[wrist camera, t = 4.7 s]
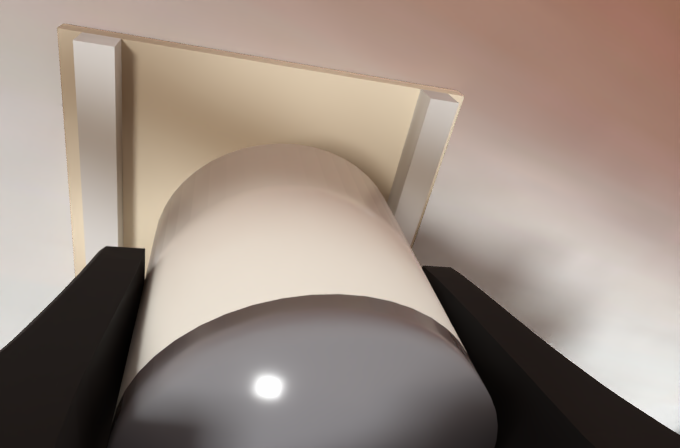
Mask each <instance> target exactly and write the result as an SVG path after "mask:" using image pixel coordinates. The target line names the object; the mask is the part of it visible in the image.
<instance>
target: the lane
mask: <svg viewBox="0 0 680 448" xmlns="http://www.w3.org/2000/svg"><path fill="white" fill-rule="evenodd" d="M57 33H58V47H59V60H60V74H61V88H62V102H63V115H64V129H65V143H66V156H67V170H68V184H69V198H70V211H71V225H72V239H73V253H74V266H75V277H76V276H77V275H78V274H79V273H80V272H81V271H82V270H83V268H84V267H85V266H86V265H87V264H88V263H89V262H90V261H91V260H92V258H93V257H94V256H95V255H96V254H97V253H98V251H100V250H101V249H103V248H104V247H105V246H114V247H130V248H145V277H146V272H147V268H148V263H149V259H150V255H151V250H152V246H153V241H154V237H155V233H156V229H157V225H158V221H159V218H160V216H161V214H162V212H163V209H164V207H165V205H166V204H167V202H168V201H169V199H170V198H171V196H172V195H173V193H174V192H175V191H176V190H177V189H178V188H179V186H180V185H181V184H182V183H183V182H184V181H185V180H186V179H187V178H188V177H190V176H191V175H192V174H193V173H194V172H196V171H197V170H198V169H200V168H201V167H203V166H205V165H206V164H208V163H209V162H211V161H213V160H215V159H217V158H219V157H221V156H223V155H225V154H228V153H231V152H234V151H237V150H240V149H243V148H248V147H253V146H258V145H265V144H279V143H280V144H298V145H304V146H310V147H315V148H318V149H321V150H324V151H328V152H330V153H333V154H335V155H337V156H339V157H341V158H344V159H345V160H347V161H348V162H350V163H352V164H353V165H355V166H356V167H358V168H359V169H360V170H361V171H362V172H364V173H365V174H366V175H367V176H368V177H369V178H370V179H371V180H372V182H373V183H374V184H375V185H376V186H377V187H378V189H379V191H380V192H381V194H382V195H383V197H384V199H385V201H386V202H387V204H388V206H389V208H390V210H391V212H392V214H393V215H394V217H395V219H396V221H397V223H398V225H399V227H400V229H401V230H402V232H403V234H404V236H405V238H406V240H407V242H408V244H409V245H410V247H411V249H412V247H413V244H414V241H415V238H416V235H417V232H418V229H419V226H420V223H421V220H422V218H423V215H424V212H425V209H426V206H427V203H428V200H429V197H430V194H431V191H432V188H433V186H434V183H435V180H436V177H437V174H438V171H439V168H440V165H441V162H442V159H443V156H444V154H445V151H446V148H447V145H448V142H449V139H450V136H451V133H452V130H453V127H454V124H455V121H456V119H457V116H458V113H459V110H460V107H461V104H462V101H463V98H464V96H463V95H462V94H461V93H459V92H458V91H456V90H450V89H444V88H438V87H432V86H426V85H421V84H415V83H409V82H403V81H397V80H391V79H385V78H380V77H374V76H368V75H362V74H356V73H350V72H344V71H339V70H333V69H327V68H321V67H315V66H309V65H303V64H298V63H292V62H286V61H280V60H274V59H268V58H263V57H257V56H251V55H245V54H239V53H233V52H227V51H222V50H216V49H210V48H204V47H198V46H192V45H186V44H181V43H175V42H169V41H163V40H157V39H151V38H145V37H140V36H134V35H128V34H122V33H116V32H110V31H104V30H99V29H93V28H87V27H81V26H75V25H69V24H62V25H61V26H59V27H58V28H57Z"/></svg>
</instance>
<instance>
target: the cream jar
mask: <svg viewBox="0 0 680 448" xmlns="http://www.w3.org/2000/svg"><path fill="white" fill-rule="evenodd" d="M497 430H498V423H497V415H496V410H495V407H494V405H493V402H492V399H491V397H490V395H489V393H488V391H487V389H486V387H485V386H484V384H483V382H482V380H481V378H480V376H479V374H478V372H477V371H476V369H475V367H474V365H473V363H472V361H471V359H470V358H469V356H468V354H467V352H466V350H465V348H464V346H463V344H462V343H461V341H460V339H459V337H458V335H457V333H456V331H455V330H454V328H453V326H452V324H451V322H450V320H449V318H448V316H447V315H446V313H445V311H444V309H443V307H442V305H441V303H440V301H439V300H438V298H437V296H436V294H435V292H434V290H433V288H432V287H431V285H430V283H429V281H428V279H427V277H426V275H425V273H424V272H423V270H422V268H421V266H420V264H419V262H418V260H417V258H416V257H415V255H414V253H413V251H412V249H411V247H410V245H409V244H408V242H407V240H406V238H405V236H404V234H403V232H402V230H401V229H400V227H399V225H398V223H397V221H396V219H395V217H394V215H393V214H392V212H391V210H390V208H389V206H388V204H387V202H386V201H385V199H384V197H383V195H382V194H381V192H380V191H379V189H378V187H377V186H376V185H375V184H374V183H373V182H372V180H371V179H370V178H369V177H368V176H367V175H366V174H365V173H364V172H362V171H361V170H360V169H359V168H358V167H356V166H355V165H353V164H352V163H350V162H348V161H347V160H345V159H344V158H341V157H339V156H337V155H335V154H333V153H330V152H328V151H324V150H321V149H318V148H315V147H310V146H304V145H298V144H280V143H279V144H265V145H258V146H253V147H248V148H243V149H240V150H237V151H234V152H231V153H228V154H225V155H223V156H221V157H219V158H217V159H215V160H213V161H211V162H209V163H208V164H206V165H205V166H203V167H201V168H200V169H198V170H197V171H196V172H194V173H193V174H192V175H191V176H190V177H188V178H187V179H186V180H185V181H184V182H183V183H182V184H181V185H180V186H179V188H178V189H177V190H176V191H175V192H174V193H173V195H172V196H171V198H170V199H169V201H168V202H167V204H166V205H165V207H164V209H163V212H162V214H161V216H160V218H159V221H158V225H157V229H156V233H155V237H154V241H153V246H152V250H151V255H150V259H149V263H148V268H147V272H146V277H145V281H144V286H143V290H142V295H141V299H140V303H139V308H138V312H137V317H136V321H135V325H134V329H133V334H132V338H131V343H130V347H129V351H128V356H127V360H126V365H125V369H124V373H123V378H122V382H121V387H120V391H119V396H118V400H117V404H116V409H115V413H114V418H113V422H112V426H111V431H110V435H109V440H108V444H107V448H494V447H495V444H496V440H497Z"/></svg>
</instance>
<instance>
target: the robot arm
mask: <svg viewBox="0 0 680 448" xmlns="http://www.w3.org/2000/svg"><path fill="white" fill-rule="evenodd" d="M422 270H423V272H424V273H425V275H426V277H427V279H428V281H429V283H430V285H431V287H432V288H433V290H434V292H435V294H436V296H437V298H438V300H439V301H440V303H441V305H442V307H443V309H444V311H445V313H446V315H447V316H448V318H449V320H450V322H451V324H452V326H453V328H454V330H455V331H456V333H457V335H458V337H459V339H460V341H461V343H462V344H463V346H464V348H465V350H466V352H467V354H468V356H469V358H470V359H471V361H472V363H473V365H474V367H475V369H476V371H477V372H478V374H479V376H480V378H481V380H482V382H483V384H484V386H485V387H486V389H487V391H488V393H489V395H490V397H491V399H492V402H493V405H494V407H495V410H496V415H497V423H498V430H497V440H496V444H495V447H494V448H680V435H679V434H677V433H676V432H674V431H672V430H671V429H669V428H667V427H666V426H664V425H663V424H661V423H660V422H658V421H656V420H655V419H653V418H652V417H650V416H649V415H647V414H646V413H644V412H643V411H641V410H640V409H638V408H636V407H635V406H633V405H632V404H630V403H629V402H627V401H626V400H624V399H623V398H621V397H620V396H618V395H617V394H615V393H614V392H612V391H611V390H609V389H608V388H607V387H605V386H604V385H602V384H601V383H599V382H598V381H597V380H595V379H594V378H593V377H591V376H590V375H589V374H587V373H586V372H584V371H583V370H582V369H580V368H579V367H578V366H576V365H575V364H574V363H572V362H571V361H569V360H568V359H567V358H565V357H564V356H563V355H562V354H560V353H559V352H558V351H556V350H555V349H554V348H552V347H551V346H550V345H549V344H547V343H546V342H545V341H543V340H542V339H541V338H540V337H538V336H537V335H536V334H535V333H533V332H532V331H531V330H530V329H528V328H527V327H526V326H525V325H523V324H522V323H521V322H520V321H518V320H517V319H516V318H515V317H514V316H512V315H511V314H510V313H509V312H507V311H506V310H505V309H504V308H503V307H501V306H500V305H499V304H498V303H496V302H495V301H494V300H493V299H492V298H490V297H489V296H488V295H487V294H485V293H484V292H483V291H482V290H480V289H479V288H478V287H477V286H475V285H474V284H473V283H472V282H470V281H469V280H468V279H466V278H465V277H464V276H462V275H461V274H460V273H458V272H457V271H455V270H454V269H452V268H450V267H434V266H423V267H422ZM144 281H145V248H130V247H114V246H105V247H104V248H103V249H101V250H100V251H98V253H97V254H96V255H95V256H94V257H93V258H92V260H91V261H90V262H89V263H88V264H87V265H86V266H85V267H84V268H83V270H82V271H81V272H80V273H79V274H78V275H77V276H76V277H75V278H74V279H73V280H72V282H71V283H70V284H69V285H68V286H67V287H66V288H65V289H64V290H63V291H62V292H61V293H60V294H59V295H58V296H57V297H56V298H55V299H54V300H53V301H52V302H51V303H50V304H49V305H48V306H47V307H46V308H45V309H44V310H43V311H42V312H41V313H40V314H39V315H38V316H37V317H36V318H35V319H34V320H33V321H32V322H31V323H30V324H29V325H28V326H27V327H26V328H24V329H23V330H22V331H21V332H20V333H19V334H18V335H17V336H16V337H15V338H14V339H13V340H12V341H11V342H9V343H8V344H7V345H6V346H5V347H4V348H3V349H1V350H0V448H107V444H108V440H109V435H110V431H111V426H112V422H113V418H114V413H115V409H116V404H117V400H118V396H119V391H120V387H121V382H122V378H123V373H124V369H125V365H126V360H127V356H128V351H129V347H130V343H131V338H132V334H133V329H134V325H135V321H136V317H137V312H138V308H139V303H140V299H141V295H142V290H143V286H144Z"/></svg>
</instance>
